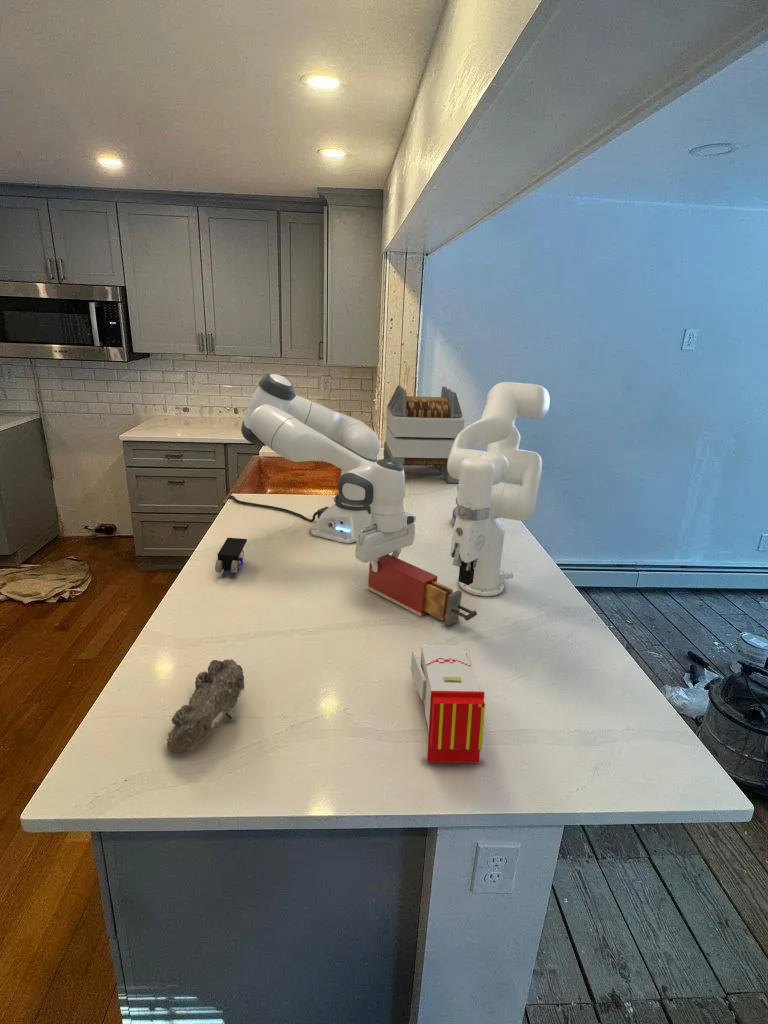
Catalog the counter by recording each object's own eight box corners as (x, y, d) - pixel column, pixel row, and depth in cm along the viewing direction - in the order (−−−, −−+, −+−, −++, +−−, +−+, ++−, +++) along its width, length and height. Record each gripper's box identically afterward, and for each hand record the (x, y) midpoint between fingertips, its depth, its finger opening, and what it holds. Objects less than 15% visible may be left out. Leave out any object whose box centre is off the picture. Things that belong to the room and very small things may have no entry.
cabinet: (434, 609, 151) (437, 576, 147) (420, 616, 147) (424, 582, 143) (381, 583, 163) (383, 551, 159) (367, 589, 159) (369, 557, 155)
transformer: (382, 463, 289) (386, 382, 275) (445, 464, 293) (451, 384, 279) (390, 482, 257) (394, 392, 243) (460, 483, 261) (468, 394, 247)
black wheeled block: (238, 584, 162) (249, 557, 175) (236, 562, 158) (247, 536, 172) (215, 584, 161) (227, 556, 175) (212, 561, 158) (225, 535, 171)
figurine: (459, 530, 205) (463, 490, 200) (444, 520, 214) (447, 482, 209) (480, 526, 209) (485, 488, 204) (464, 517, 218) (468, 480, 213)
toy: (464, 627, 124) (494, 699, 95) (461, 683, 127) (489, 770, 98) (409, 626, 124) (422, 698, 94) (407, 682, 127) (419, 769, 97)
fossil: (192, 660, 117) (244, 628, 112) (224, 691, 120) (276, 661, 115) (142, 746, 98) (202, 712, 93) (182, 779, 101) (242, 748, 96)
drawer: (475, 628, 141) (479, 599, 138) (465, 635, 138) (469, 605, 135) (404, 593, 156) (406, 566, 153) (394, 598, 153) (396, 571, 150)
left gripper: (367, 533, 142) (366, 582, 147) (420, 515, 157) (416, 560, 161) (350, 526, 146) (349, 574, 151) (402, 509, 161) (400, 553, 165)
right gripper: (467, 523, 124) (459, 598, 130) (504, 508, 134) (495, 578, 140) (440, 514, 128) (434, 586, 135) (477, 500, 139) (470, 568, 145)
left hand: (384, 567), depth 156 cm, fingers open, 6 cm apart
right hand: (465, 582), depth 137 cm, fingers closed
